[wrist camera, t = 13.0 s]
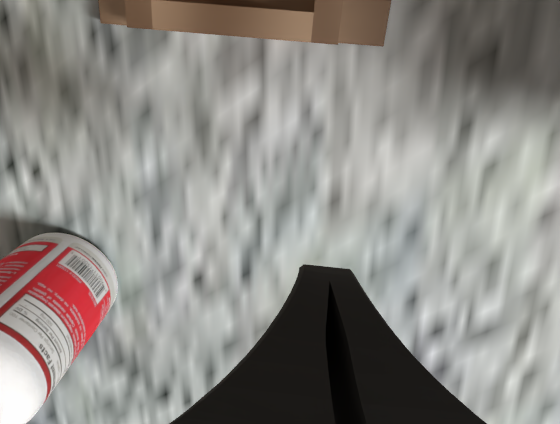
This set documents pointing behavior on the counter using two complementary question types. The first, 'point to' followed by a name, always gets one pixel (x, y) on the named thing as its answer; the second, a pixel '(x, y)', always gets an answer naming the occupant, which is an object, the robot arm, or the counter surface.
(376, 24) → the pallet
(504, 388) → the counter surface
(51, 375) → the pill bottle
